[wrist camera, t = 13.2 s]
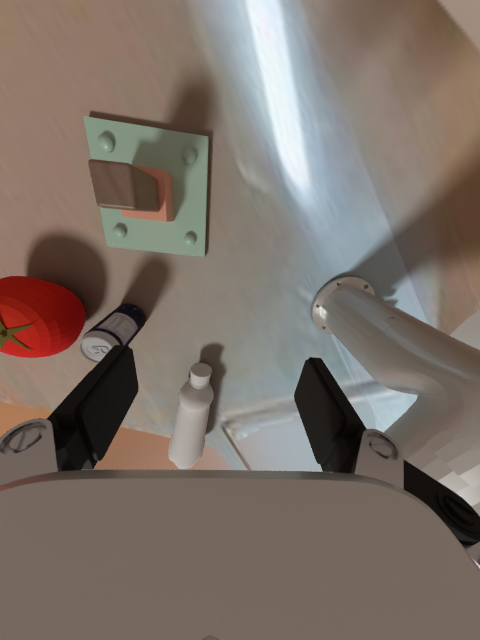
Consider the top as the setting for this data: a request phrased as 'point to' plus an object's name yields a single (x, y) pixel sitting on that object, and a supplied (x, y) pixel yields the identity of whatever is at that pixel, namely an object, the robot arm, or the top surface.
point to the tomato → (38, 317)
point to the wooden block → (123, 186)
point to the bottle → (191, 418)
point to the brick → (164, 197)
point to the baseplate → (187, 175)
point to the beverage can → (112, 332)
